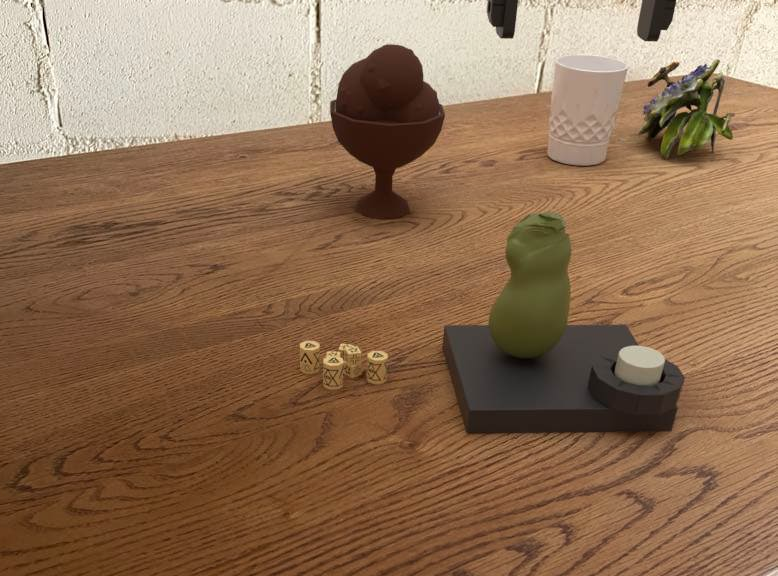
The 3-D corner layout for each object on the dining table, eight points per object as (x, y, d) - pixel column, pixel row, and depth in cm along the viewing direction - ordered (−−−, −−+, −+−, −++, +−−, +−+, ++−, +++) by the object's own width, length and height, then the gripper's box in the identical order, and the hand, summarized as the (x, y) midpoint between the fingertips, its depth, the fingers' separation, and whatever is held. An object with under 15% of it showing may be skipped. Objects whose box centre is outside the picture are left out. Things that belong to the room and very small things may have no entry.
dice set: (390, 382, 66) (392, 358, 65) (327, 398, 64) (327, 374, 63) (356, 351, 70) (357, 327, 68) (295, 366, 67) (294, 342, 66)
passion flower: (641, 185, 117) (654, 88, 116) (732, 183, 113) (746, 82, 112) (627, 151, 107) (641, 45, 106) (728, 148, 102) (743, 36, 102)
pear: (540, 380, 63) (565, 237, 57) (471, 358, 65) (488, 218, 59) (571, 348, 67) (598, 211, 61) (505, 328, 69) (524, 193, 63)
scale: (626, 346, 72) (636, 304, 69) (682, 439, 62) (696, 393, 60) (442, 347, 70) (446, 304, 68) (469, 442, 61) (474, 396, 58)
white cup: (527, 154, 108) (540, 59, 101) (570, 142, 112) (585, 50, 105) (581, 172, 103) (598, 75, 97) (623, 159, 107) (642, 65, 101)
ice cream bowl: (456, 205, 94) (472, 41, 84) (396, 238, 87) (406, 62, 77) (370, 182, 98) (375, 23, 89) (306, 212, 91) (304, 42, 82)
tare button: (651, 365, 63) (656, 345, 62) (665, 388, 61) (671, 367, 60) (608, 365, 63) (613, 345, 62) (621, 388, 61) (626, 367, 60)
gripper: (500, -360, 40) (465, 51, 51) (814, -345, 41) (717, 55, 52) (473, -345, 46) (447, 21, 56) (749, -332, 47) (673, 25, 58)
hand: (576, 37), depth 54 cm, fingers open, 8 cm apart
